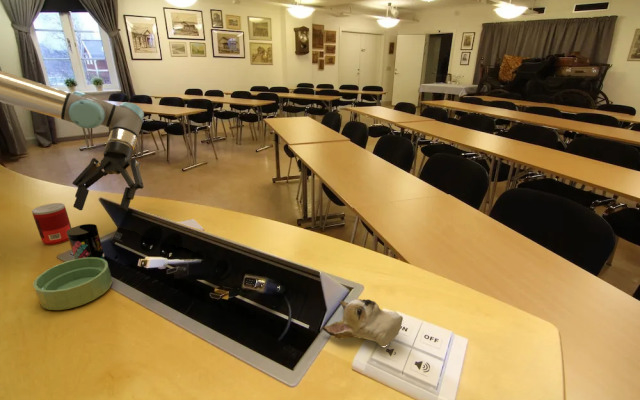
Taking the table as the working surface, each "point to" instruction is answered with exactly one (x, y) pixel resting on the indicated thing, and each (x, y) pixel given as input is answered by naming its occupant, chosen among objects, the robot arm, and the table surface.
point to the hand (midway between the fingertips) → (100, 209)
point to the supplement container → (85, 241)
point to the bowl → (73, 283)
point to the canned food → (52, 223)
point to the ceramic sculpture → (366, 322)
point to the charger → (192, 224)
